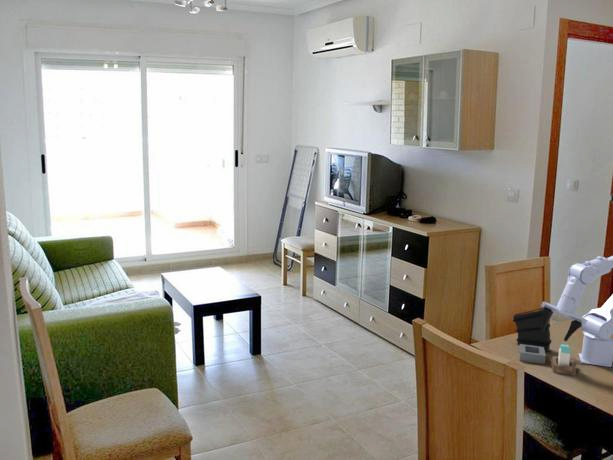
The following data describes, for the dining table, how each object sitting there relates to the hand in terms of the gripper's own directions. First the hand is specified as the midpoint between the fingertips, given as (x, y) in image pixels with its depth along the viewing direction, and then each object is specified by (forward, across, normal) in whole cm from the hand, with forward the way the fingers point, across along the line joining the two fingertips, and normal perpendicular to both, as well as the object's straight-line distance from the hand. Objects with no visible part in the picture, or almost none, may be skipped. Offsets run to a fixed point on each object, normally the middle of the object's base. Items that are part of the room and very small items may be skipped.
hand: (553, 335), depth 192 cm
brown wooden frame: (+9, +6, +4) cm, 12 cm away
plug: (+9, +6, +4) cm, 12 cm away
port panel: (+11, -5, +6) cm, 13 cm away
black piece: (+9, -9, +16) cm, 20 cm away
